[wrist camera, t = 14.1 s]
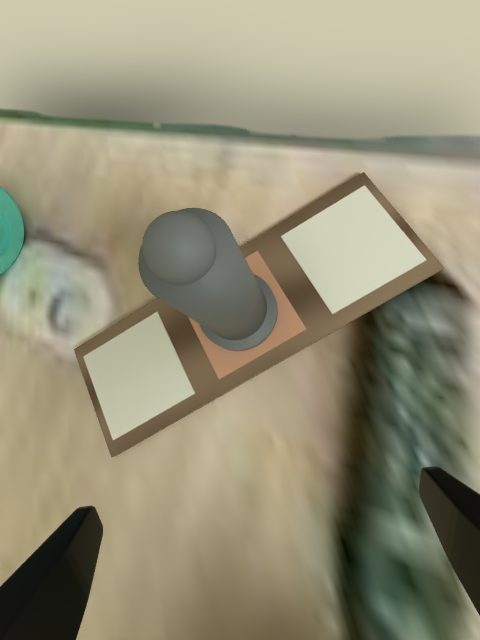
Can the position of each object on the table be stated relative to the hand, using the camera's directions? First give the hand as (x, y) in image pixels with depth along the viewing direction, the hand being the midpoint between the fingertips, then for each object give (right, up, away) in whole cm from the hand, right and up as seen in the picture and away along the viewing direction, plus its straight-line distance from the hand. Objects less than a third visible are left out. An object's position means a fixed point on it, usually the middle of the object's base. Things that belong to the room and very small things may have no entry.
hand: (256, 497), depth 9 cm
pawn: (-1, +5, +14) cm, 16 cm away
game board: (0, +5, +15) cm, 16 cm away
